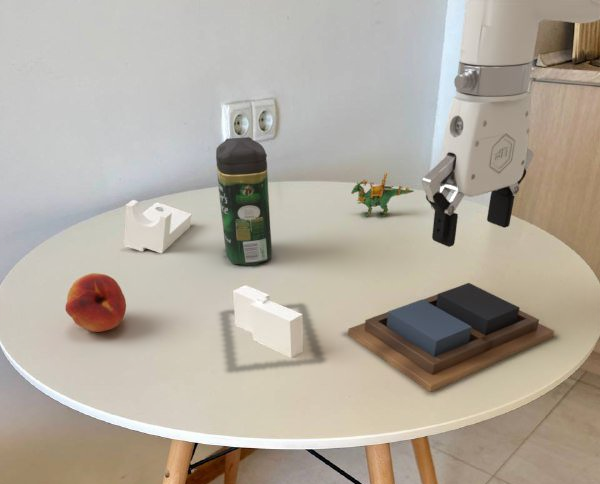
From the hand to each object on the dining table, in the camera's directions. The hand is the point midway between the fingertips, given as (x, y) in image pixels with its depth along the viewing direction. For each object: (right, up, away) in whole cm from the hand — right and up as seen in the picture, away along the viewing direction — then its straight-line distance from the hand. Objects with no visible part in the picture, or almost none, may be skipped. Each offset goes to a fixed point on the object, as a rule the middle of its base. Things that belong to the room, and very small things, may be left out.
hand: (471, 233), depth 74 cm
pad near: (+2, -10, +6) cm, 12 cm away
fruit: (-49, -11, +8) cm, 51 cm away
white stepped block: (-26, -12, +6) cm, 29 cm away
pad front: (-5, -13, +3) cm, 14 cm away
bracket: (-47, +9, +34) cm, 59 cm away
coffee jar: (-30, +4, +27) cm, 41 cm away
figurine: (-6, +15, +42) cm, 45 cm away
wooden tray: (-1, -12, +5) cm, 13 cm away
